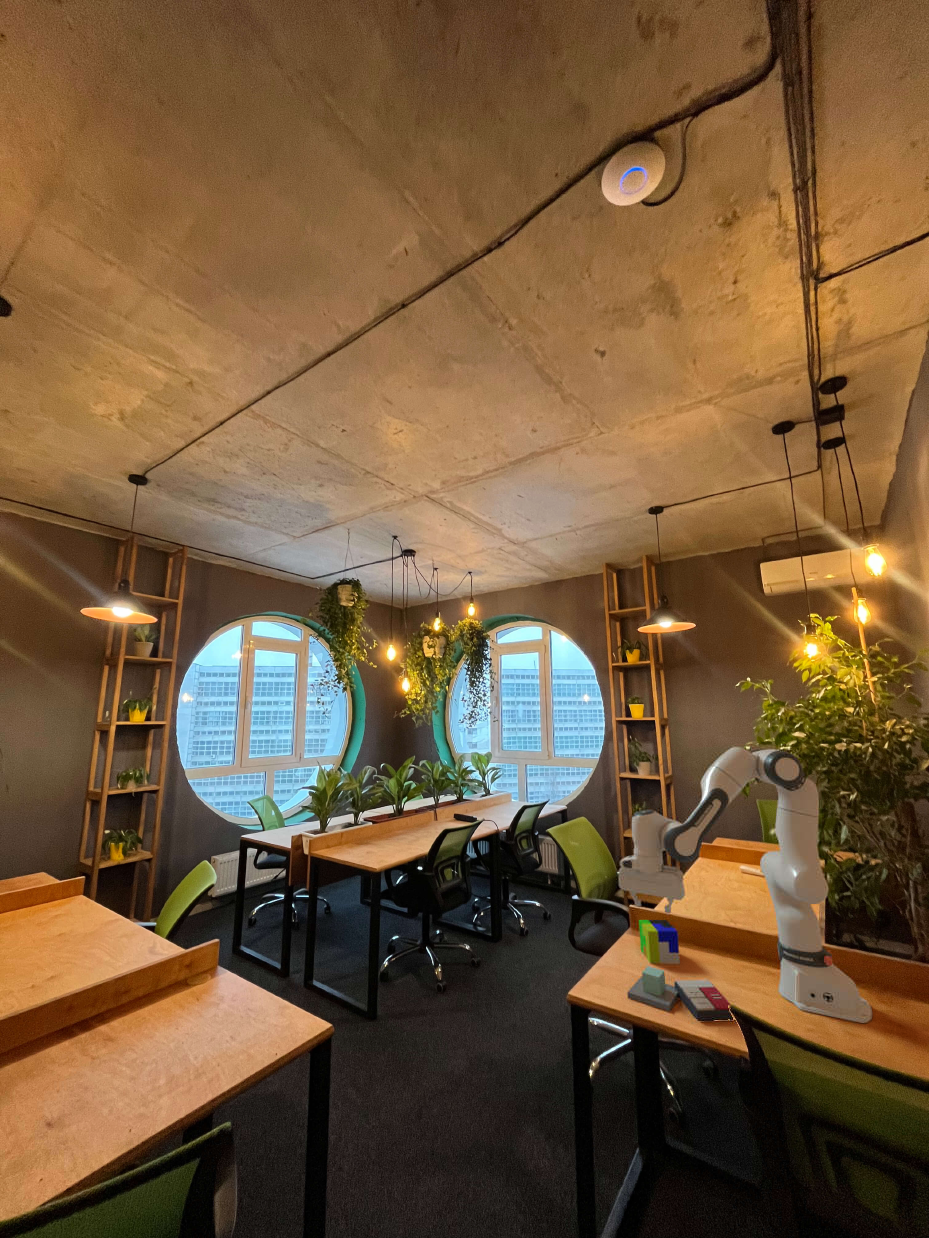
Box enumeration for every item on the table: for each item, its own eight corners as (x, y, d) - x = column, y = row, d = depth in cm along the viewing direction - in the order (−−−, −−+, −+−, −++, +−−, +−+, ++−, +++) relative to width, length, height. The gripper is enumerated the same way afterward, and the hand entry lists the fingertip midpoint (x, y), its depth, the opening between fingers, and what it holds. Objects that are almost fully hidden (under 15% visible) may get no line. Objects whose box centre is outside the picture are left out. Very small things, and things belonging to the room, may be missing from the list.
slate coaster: (681, 993, 153) (680, 988, 153) (669, 1011, 144) (668, 1005, 144) (641, 981, 160) (641, 976, 161) (627, 997, 151) (627, 991, 151)
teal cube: (665, 989, 153) (664, 970, 154) (660, 996, 149) (658, 977, 150) (648, 984, 156) (647, 965, 157) (643, 990, 152) (642, 972, 153)
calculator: (697, 1008, 139) (673, 978, 154) (698, 1025, 139) (674, 993, 154) (736, 1007, 140) (709, 977, 155) (737, 1024, 139) (710, 992, 154)
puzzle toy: (679, 963, 172) (677, 931, 174) (650, 963, 172) (648, 931, 174) (668, 950, 182) (666, 919, 184) (640, 950, 182) (638, 919, 184)
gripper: (684, 865, 161) (689, 912, 158) (621, 856, 173) (625, 900, 170) (679, 870, 156) (684, 919, 153) (615, 860, 168) (618, 906, 165)
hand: (652, 909), depth 162 cm, fingers open, 8 cm apart
